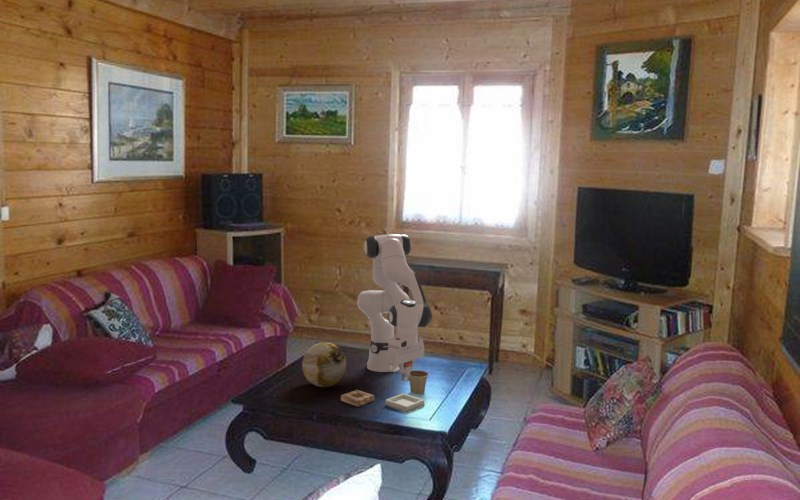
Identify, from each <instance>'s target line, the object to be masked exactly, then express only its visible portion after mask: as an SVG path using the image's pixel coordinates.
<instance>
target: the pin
mask: <svg viewBox="0 0 800 500" xmlns="http://www.w3.org/2000/svg"><path fill="white" fill-rule="evenodd" d="M410 365H411V362H406V363H404V365H403V368H404V369H405V373H401V381H402V382H410Z"/></svg>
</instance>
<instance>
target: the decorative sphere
mask: <svg viewBox="0 0 800 500" xmlns="http://www.w3.org/2000/svg"><path fill="white" fill-rule="evenodd" d="M301 368H302V372H303V375H304V377H305V378H306V380H307V381H308V382H309V383H311V385H314V386H315V387H319V388H320V387H321V388H327V387H332V386H334V385H336V384H338V383H339V381H341V379H343V377H344V375H345V373H346V369H347V359H346V356H345V353H344V352H343V350H342V349H341V348H340V347H339V346H337V345H336V344H334V343H331V342H325V341H323V342H317V343H316V344H313V345H311V346H310V347H309V348H308V349H307V350H306V351H305V353H304V355H303V358H302V362H301Z"/></svg>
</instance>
